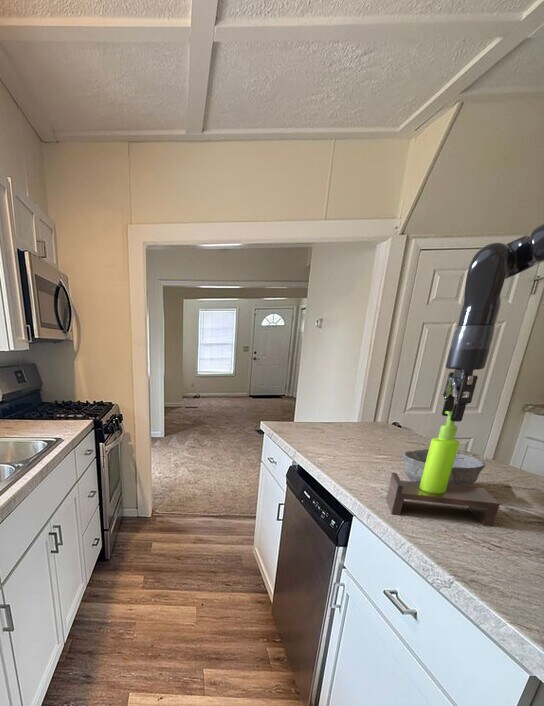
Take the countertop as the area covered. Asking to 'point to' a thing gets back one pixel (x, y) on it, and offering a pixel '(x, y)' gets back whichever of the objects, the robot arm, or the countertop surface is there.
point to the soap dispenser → (440, 459)
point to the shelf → (444, 498)
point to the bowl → (461, 473)
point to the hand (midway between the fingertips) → (450, 418)
